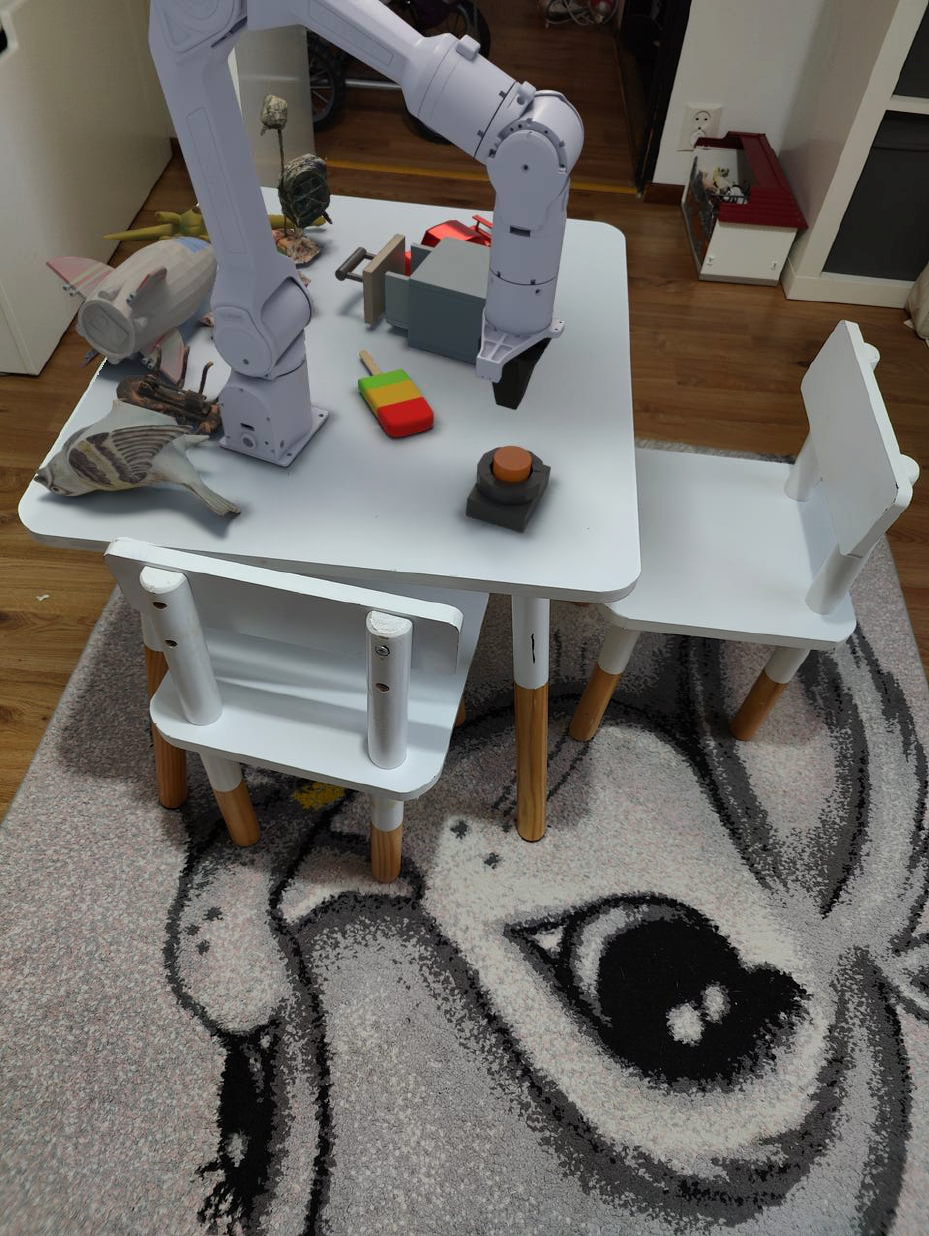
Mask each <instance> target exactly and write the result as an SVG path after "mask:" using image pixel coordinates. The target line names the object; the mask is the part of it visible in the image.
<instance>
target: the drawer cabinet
mask: <svg viewBox="0 0 929 1236" xmlns="http://www.w3.org/2000/svg"><path fill="white" fill-rule="evenodd" d="M489 259H490V247H488V246H484V245H480V244H476V243H472V242H468V241H464V240H460V239H456V238H452V237H448V236H444V237H443V239H442V240H441V241H440V242H439V243H438V244H437V246H436V247H435V248H434V249H433V250H432V251H431V253H430V254H429V255H428V256H427V257H426V258H425V260H424V261H423V262H422V263H421V264H420V265H419V267H418V268H417V269H416V270H415V271H414V272H413V274H412V275H411V276H410V277H409V278H408V284H409V285H408V329H407V342H408V343H407V345H408V346H409V347H412V348H415V349H420V350H424V351H427V352H430V353H434V354H438V355H442V356H445V357H448V358H452V359H455V360H458V361H462V362H466V363H470V364H473V365H476V360H477V356H478V354H479V352H478V340H479V338H480V336H481V335H482V314H483V309H484V307H485V306H486V295H487V283H488V270H489Z"/></svg>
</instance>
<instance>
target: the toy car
mask: <svg viewBox="0 0 929 1236" xmlns="http://www.w3.org/2000/svg"><path fill="white" fill-rule="evenodd" d="M471 218H472V220H475V221H476V223H475V225H471V226H468V225H466V224H464V223H463V222H461V221H460V220H457V219H448V220H446V221H444V222H441V223H438V224H436V225H433V226H431V227H429V228H428V229H426V230H425V232H424V234H423V236H422V239H421V242H420V244H421V245H425V246H429V247H432V248H435V247H436V246H437V244H438V243H439V242H440V241H441V240H442V239H443V237H444V236H448V237H452V238H456V239H460V240H464V241H468V242H472V243H476V244H480V245H484V246H488V247H491V234H492V233H491V234H490V233H489V232H487V231H486V230H484V229H482V228H481V227H480V225H481V224H482V226H485V227H487V228H488V229H490V230H492V222H490V221H489V220H487V219H486V218H484V217H482V216H480V215H478V214H475V215H472V216H471ZM405 276H408V277H410V276H411V249H410V250H408V251H405Z"/></svg>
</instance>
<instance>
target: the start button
mask: <svg viewBox="0 0 929 1236" xmlns="http://www.w3.org/2000/svg"><path fill="white" fill-rule="evenodd" d="M501 447H502V448H500V449H498V450H497V451H496V453H495V455H494V463H493V473H494V475H495V477H496V478H497V479H498V480H501V481H504V482H508V483H521V482H523V481H525V480H526V479H527V478H528V477H529V474H530V467H531V455H530V454H529V453H528V452H527V451H526V450H527V449H525V448H523V447H521V446H517V445H505V446H501Z"/></svg>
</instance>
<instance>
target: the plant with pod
mask: <svg viewBox="0 0 929 1236" xmlns="http://www.w3.org/2000/svg"><path fill="white" fill-rule="evenodd" d="M288 114H289V106H288V102H287V101H286V100H285V99H283V98H282V97H278V96H275V95H274V94H268V95H265V96H264V97H263V105H262V109H261V112H260V122H261V123H262V124H263V125H262V127H261V132H260V136H261V137H263V136H264V135H265V134H266V131H268V130H269V131H270V130H276V131H277V138H278V145H279V153H280V167H281V168H280V170H281V171H280V172H279V174H278V177H277V182H278V184H277V186H276V189H277V197H278V201H279V204H280V206H281V210H280V211H281V215H284V219H285V222H284V229H278V230H272V233H273V236H274V240H275V244H276V248H277V251H278V252H279V253H281V254H283V255H285V256H287V257H289V258H291V259H293V260H294V262H295V265H298V264H303V265H304V264H307V263H309V262H311V260H312V259H313V258H314V257H315V256H316V255H317V254H319V253H320V252H321V250H323V249H325V246H322V245H319V244H317V243H316V242H315V241H313V240H312V239H310V238H308V235H306V234H305V233H304V232H305V229H307V228H309V227H308V226H310V225H311V224H312V223H313V222H314V221H315V220H316V219H317V218H319V217H321V216H322V217H324V218H325V219H326V223H328V224H329V225H333V220H332V218H331V217H330V215H329V214H328V212H327V211H326V210H327V209H328V208H329V207H330V204H331V195H332V192H331V191H330V186H329V178H328V166H327V163H326V162H325V161H326V160H328V157H325V158H324V159H322V157H320V156H316V155H315V154H312V153H305V154H303V155H301V156H298V157H297V158H294V159H292V160H289V162H287V164H285V153H284V145H283V142H284V141H283V132H282V131H283V130H284V129H285V128H286V124H287V123H288ZM286 217H287V218H288V219H289V220H290V221H291V222H292V223H293V225H294V229H286ZM304 262H305V263H304Z"/></svg>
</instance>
